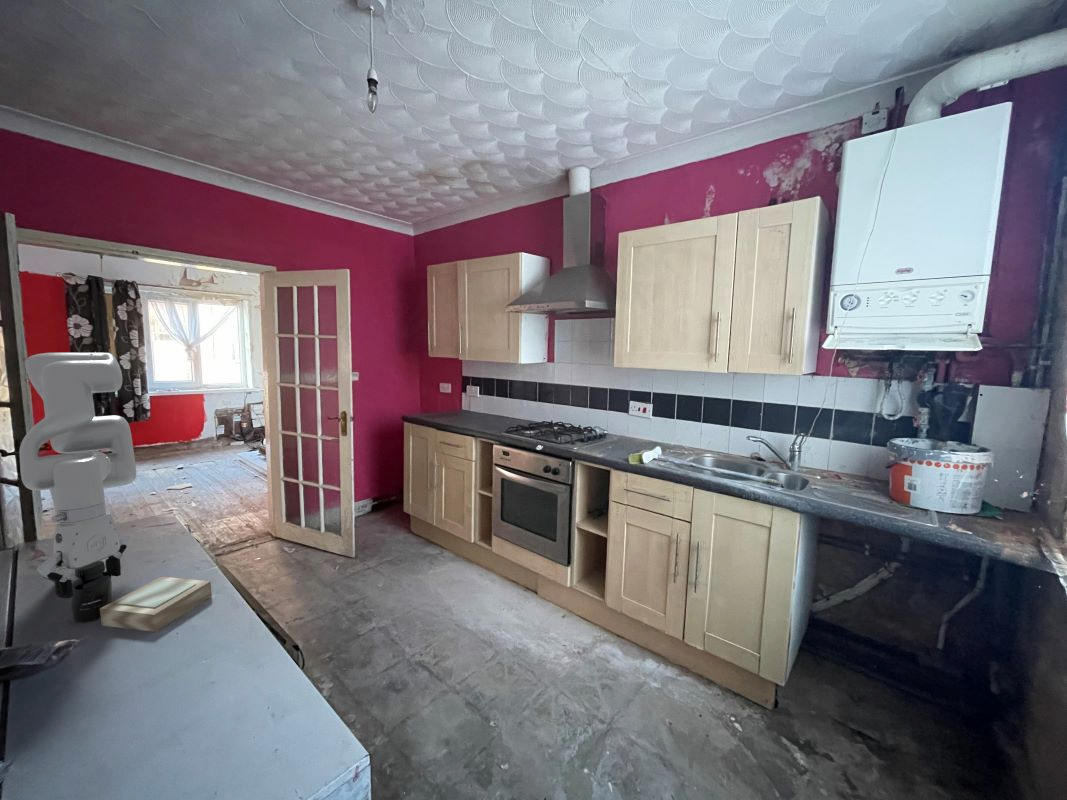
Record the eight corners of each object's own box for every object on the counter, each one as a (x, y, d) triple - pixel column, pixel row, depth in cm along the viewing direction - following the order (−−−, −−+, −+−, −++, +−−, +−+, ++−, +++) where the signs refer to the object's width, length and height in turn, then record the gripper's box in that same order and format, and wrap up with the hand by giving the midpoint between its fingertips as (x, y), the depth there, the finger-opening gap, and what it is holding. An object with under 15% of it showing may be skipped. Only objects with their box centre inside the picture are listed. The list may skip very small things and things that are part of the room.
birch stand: (101, 625, 98) (99, 607, 98) (163, 591, 112) (161, 575, 112) (155, 631, 96) (153, 613, 96) (211, 596, 110) (210, 580, 110)
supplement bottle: (88, 625, 98) (82, 574, 97) (64, 622, 100) (58, 571, 98) (122, 608, 105) (117, 560, 104) (99, 604, 106) (94, 557, 105)
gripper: (48, 528, 90) (58, 608, 92) (136, 501, 107) (143, 569, 109) (19, 526, 91) (29, 605, 93) (110, 500, 108) (118, 567, 110)
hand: (91, 585), depth 101 cm, fingers open, 9 cm apart
